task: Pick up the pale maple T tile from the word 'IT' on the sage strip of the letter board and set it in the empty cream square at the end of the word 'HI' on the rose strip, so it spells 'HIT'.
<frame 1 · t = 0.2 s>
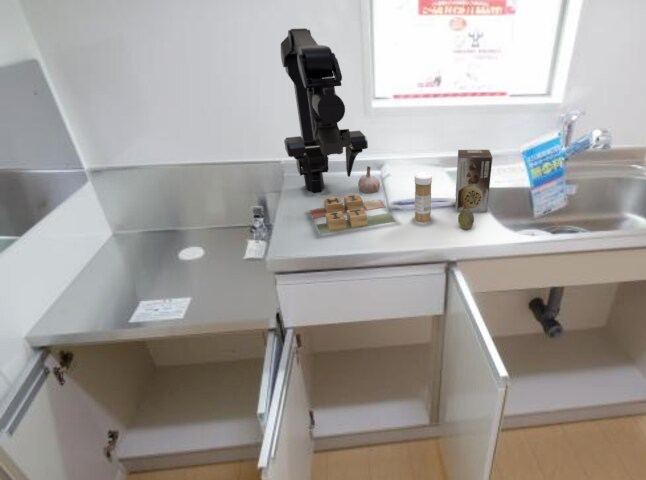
hand: (330, 178, 110), 15 cm above the counter, tool pointing down, fingers open, 9 cm apart
tile H: (334, 210, 127), point 1 cm above the counter, touching letter board
lime: (465, 227, 123), on the counter
tile T: (357, 222, 121), point 1 cm above the counter, touching letter board
letter board: (352, 218, 125), on the counter
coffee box: (470, 208, 132), on the counter
sprinkles bottle: (422, 222, 125), on the counter
tile I front: (336, 226, 120), point 1 cm above the counter, touching letter board
garlic bulb: (369, 191, 140), on the counter
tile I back: (353, 207, 129), point 1 cm above the counter, touching letter board
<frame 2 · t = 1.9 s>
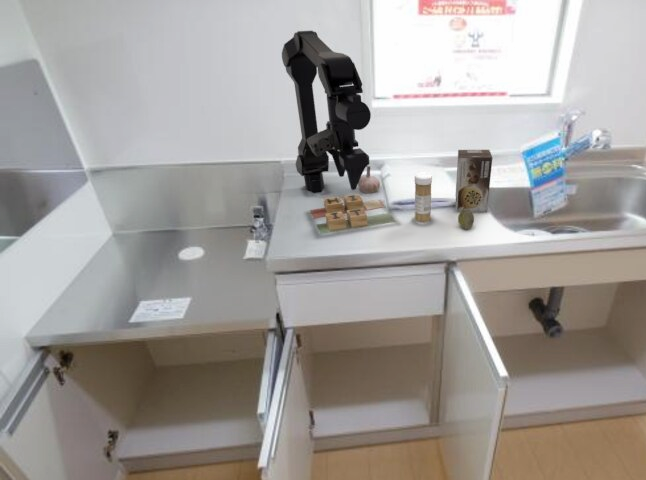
hand: (347, 182, 113), 13 cm above the counter, tool pointing down, fingers open, 9 cm apart
nothing on the counter moved.
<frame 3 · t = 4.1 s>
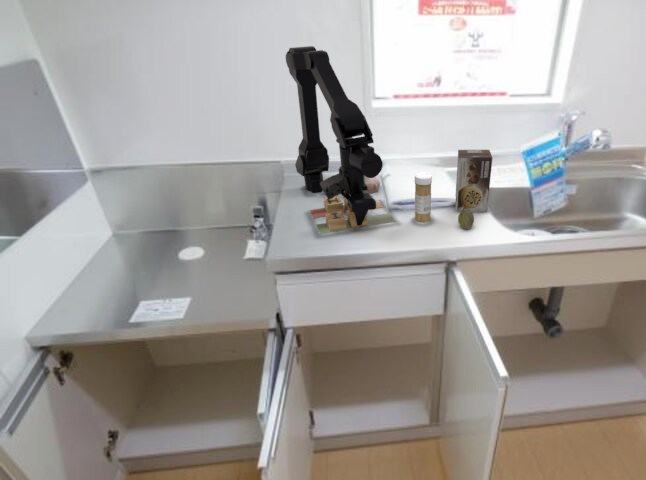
hand: (357, 221, 121), 1 cm above the counter, tool pointing down, fingers closed on tile T, 4 cm apart
tile T: (357, 222, 121), point 1 cm above the counter, touching gripper, letter board
everything else where it was.
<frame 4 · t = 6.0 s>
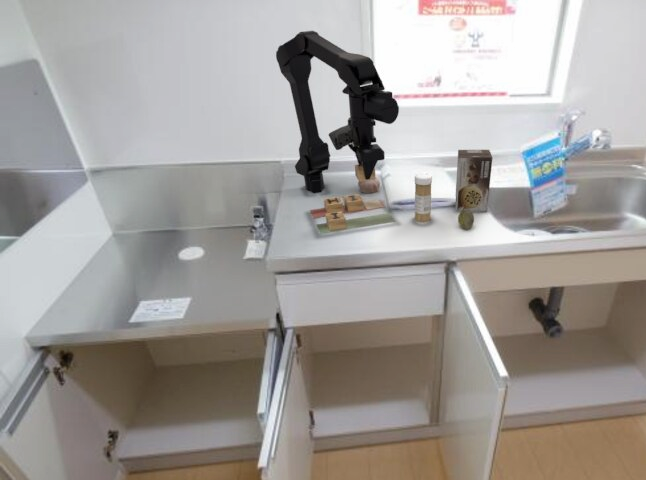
hand: (365, 176, 121), 11 cm above the counter, tool pointing down, fingers closed on tile T, 4 cm apart
tile T: (365, 177, 121), point 11 cm above the counter, touching gripper
everything else where it was.
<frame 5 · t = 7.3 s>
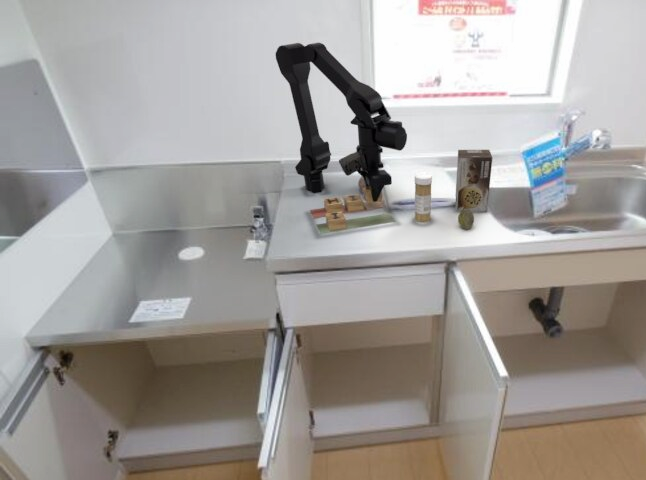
hand: (372, 198, 129), 3 cm above the counter, tool pointing down, fingers closed on tile T, 4 cm apart
tile T: (372, 199, 129), point 3 cm above the counter, touching gripper
everything else where it was.
when the fingers open (1 cm above the counter, at t = 8.2 s): tile T stays where it is, resting on letter board.
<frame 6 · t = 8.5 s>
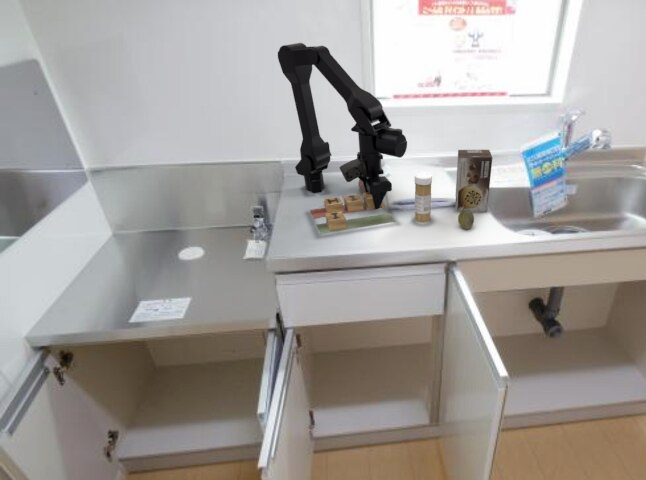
hand: (373, 203, 130), 1 cm above the counter, tool pointing down, fingers open, 7 cm apart
tile T: (373, 204, 130), point 1 cm above the counter, touching letter board
everything else where it was.
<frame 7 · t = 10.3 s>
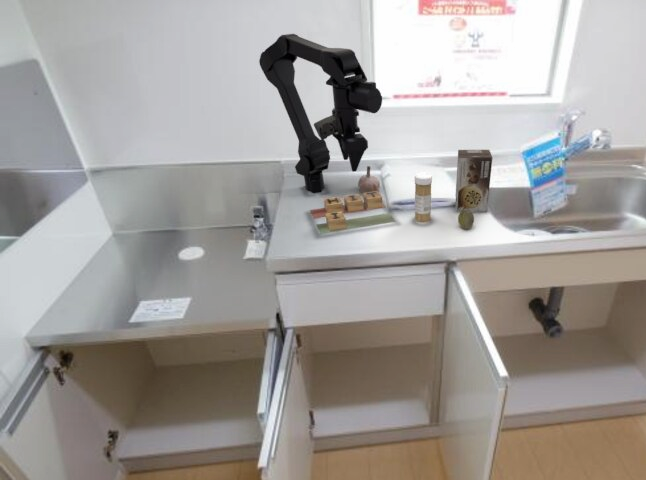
hand: (349, 165, 125), 12 cm above the counter, tool pointing down, fingers open, 9 cm apart
nothing on the counter moved.
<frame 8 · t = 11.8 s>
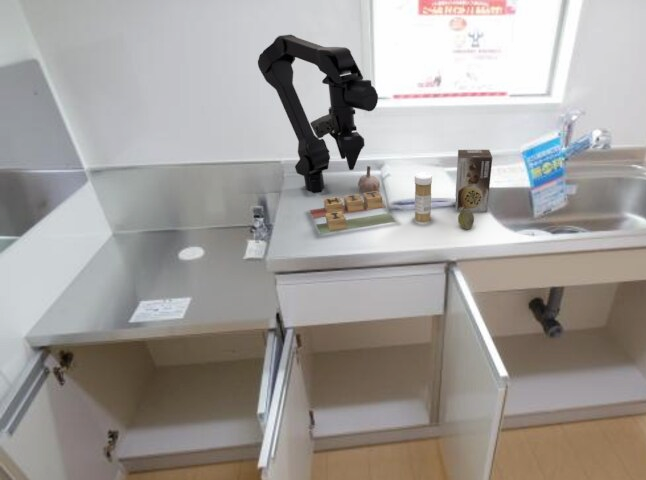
hand: (347, 164, 125), 12 cm above the counter, tool pointing down, fingers open, 9 cm apart
nothing on the counter moved.
at the end: tile T 0.0 cm from the target spot, point 1.0 cm above the counter; tile T tilted 0°; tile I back moved 0.0 cm from its start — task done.
